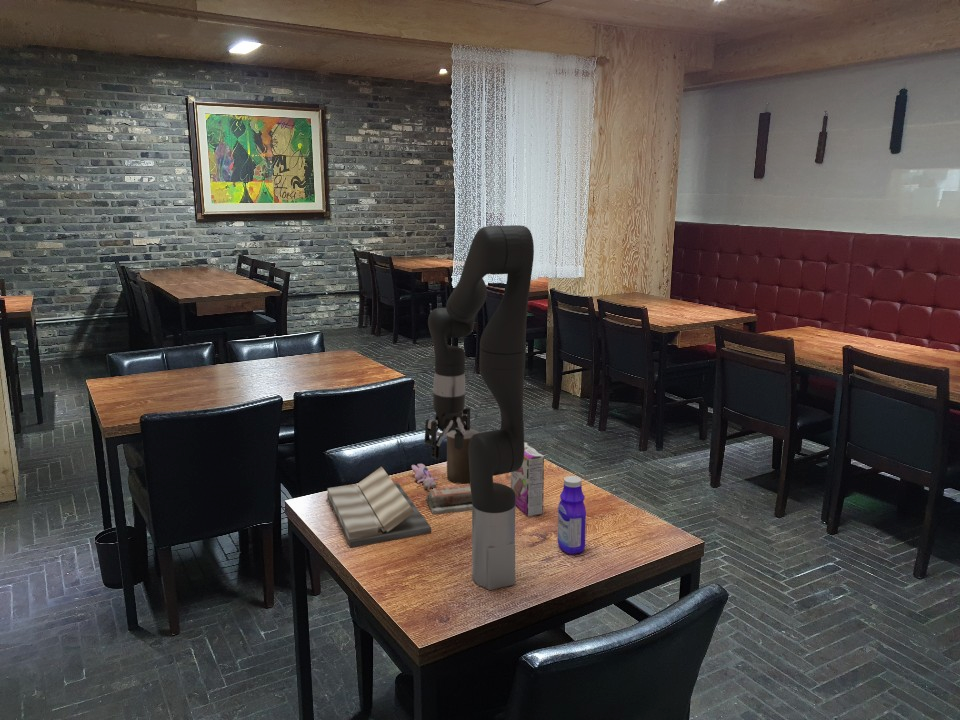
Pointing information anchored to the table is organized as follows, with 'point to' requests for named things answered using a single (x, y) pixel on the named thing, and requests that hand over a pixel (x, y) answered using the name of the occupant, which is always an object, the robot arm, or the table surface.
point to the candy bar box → (529, 482)
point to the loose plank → (385, 499)
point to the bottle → (572, 516)
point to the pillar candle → (458, 458)
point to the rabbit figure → (424, 476)
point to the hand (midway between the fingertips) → (447, 453)
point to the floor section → (370, 518)
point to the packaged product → (450, 499)
